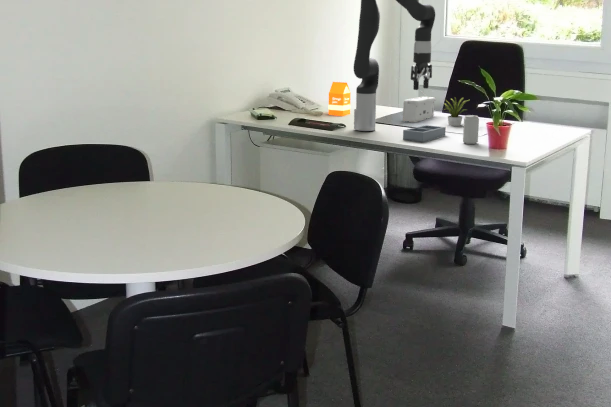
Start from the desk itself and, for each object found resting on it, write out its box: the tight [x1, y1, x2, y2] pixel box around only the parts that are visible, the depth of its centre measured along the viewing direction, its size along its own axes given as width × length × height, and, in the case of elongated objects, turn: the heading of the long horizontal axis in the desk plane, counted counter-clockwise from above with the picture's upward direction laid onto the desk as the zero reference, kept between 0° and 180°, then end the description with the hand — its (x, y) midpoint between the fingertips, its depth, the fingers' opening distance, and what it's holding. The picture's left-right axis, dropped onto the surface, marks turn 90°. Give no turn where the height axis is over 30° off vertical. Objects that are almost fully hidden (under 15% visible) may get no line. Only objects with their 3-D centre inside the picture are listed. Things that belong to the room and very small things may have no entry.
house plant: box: [443, 96, 469, 127], centre depth 385 cm, size 14×14×16 cm
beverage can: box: [462, 114, 480, 145], centre depth 346 cm, size 6×6×12 cm
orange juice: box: [327, 81, 351, 117], centre depth 413 cm, size 8×9×20 cm
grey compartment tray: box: [402, 124, 447, 143], centre depth 358 cm, size 20×10×4 cm, turn 142°
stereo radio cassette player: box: [402, 88, 437, 123], centre depth 401 cm, size 21×8×20 cm, turn 144°
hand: (420, 89), depth 350 cm, fingers open, 8 cm apart
